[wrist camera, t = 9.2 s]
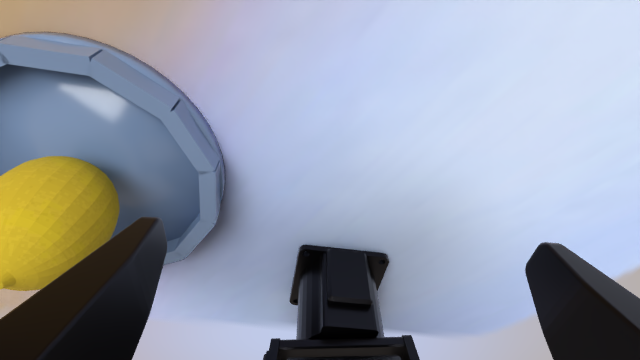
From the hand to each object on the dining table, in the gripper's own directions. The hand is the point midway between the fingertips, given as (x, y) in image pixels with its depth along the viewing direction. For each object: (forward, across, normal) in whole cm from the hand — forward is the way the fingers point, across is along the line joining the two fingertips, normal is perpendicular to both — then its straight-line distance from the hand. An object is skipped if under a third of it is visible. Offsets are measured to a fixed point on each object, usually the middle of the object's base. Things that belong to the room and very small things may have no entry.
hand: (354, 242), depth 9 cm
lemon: (+12, +13, +7) cm, 19 cm away
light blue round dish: (+12, +13, +7) cm, 19 cm away
